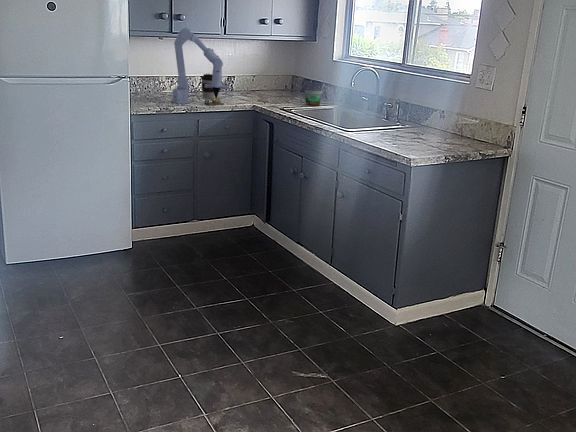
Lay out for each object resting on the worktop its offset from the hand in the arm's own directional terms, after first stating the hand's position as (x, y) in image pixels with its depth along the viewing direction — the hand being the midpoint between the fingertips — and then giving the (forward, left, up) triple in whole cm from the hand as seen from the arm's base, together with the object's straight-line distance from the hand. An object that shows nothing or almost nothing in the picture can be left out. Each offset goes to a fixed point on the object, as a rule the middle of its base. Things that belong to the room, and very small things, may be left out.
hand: (216, 100), depth 403 cm
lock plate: (-3, -2, -2) cm, 4 cm away
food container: (+59, -27, -3) cm, 65 cm away
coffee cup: (+8, +20, -3) cm, 22 cm away
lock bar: (-1, -2, -1) cm, 2 cm away
